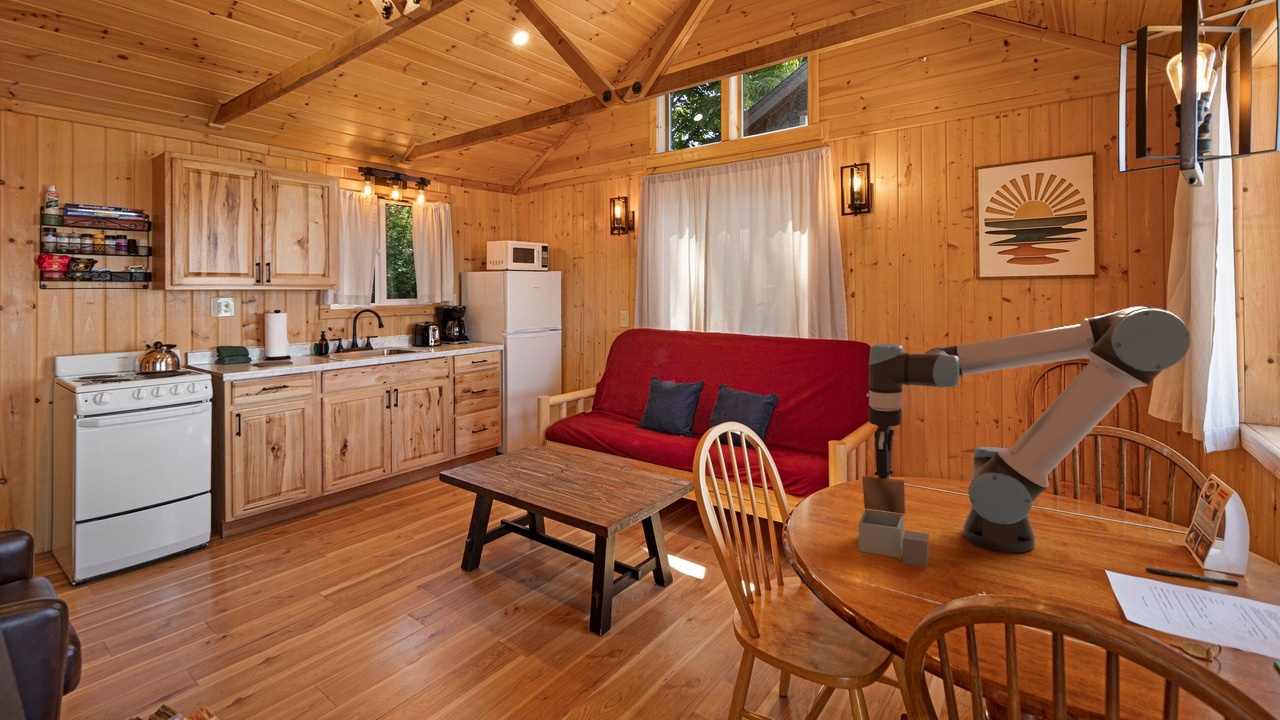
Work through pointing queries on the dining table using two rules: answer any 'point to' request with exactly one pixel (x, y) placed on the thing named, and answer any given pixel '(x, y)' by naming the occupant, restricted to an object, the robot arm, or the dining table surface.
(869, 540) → the box
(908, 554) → the slate block
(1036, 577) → the dining table surface
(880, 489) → the lid
